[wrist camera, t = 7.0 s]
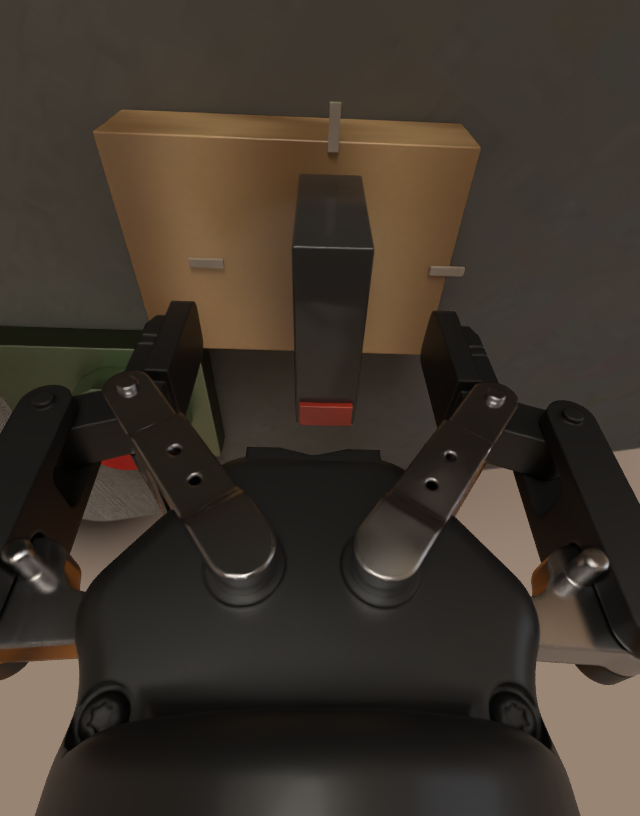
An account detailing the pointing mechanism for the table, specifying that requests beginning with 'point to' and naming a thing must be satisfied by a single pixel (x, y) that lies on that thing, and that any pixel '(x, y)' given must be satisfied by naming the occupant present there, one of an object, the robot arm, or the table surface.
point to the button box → (92, 369)
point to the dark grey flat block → (330, 295)
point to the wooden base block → (282, 215)
